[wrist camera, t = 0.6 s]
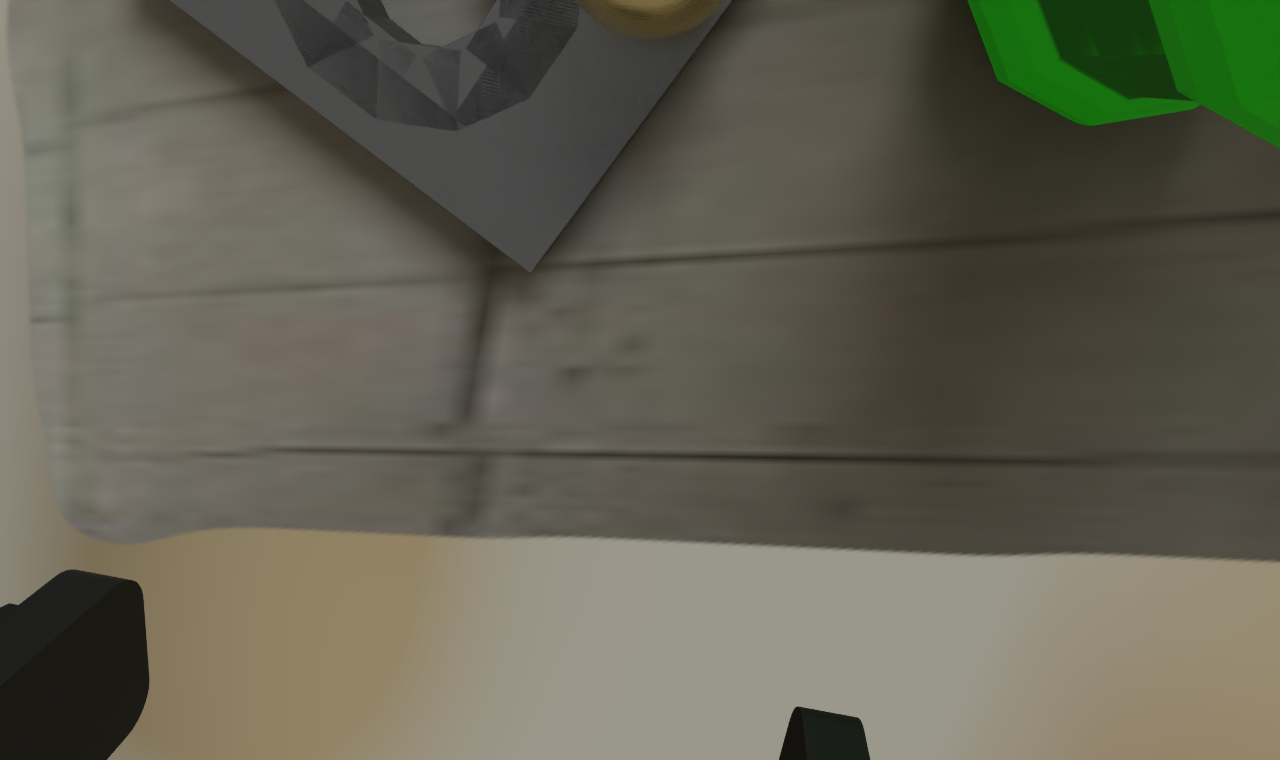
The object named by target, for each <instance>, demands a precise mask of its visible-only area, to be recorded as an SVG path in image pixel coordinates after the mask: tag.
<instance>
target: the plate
mask: <svg viewBox="0 0 1280 760" xmlns="http://www.w3.org/2000/svg"><path fill="white" fill-rule="evenodd" d="M170 1H171V2H173V3H174V4H175V5H177V6H178V7H179V8H180V9H182V10H183V11H184V12H186V13H187V14H188V15H190V16H191V17H192V18H194V19H195V20H196V21H198V22H199V23H200V24H202V25H203V26H204V27H206V28H207V29H208V30H210V31H211V32H212V33H214V34H215V35H216V36H218V37H219V38H220V39H221V40H223V41H224V42H225V43H227V44H228V45H229V46H231V47H232V48H233V49H235V50H236V51H237V52H239V53H240V54H241V55H243V56H244V57H245V58H247V59H248V60H249V61H251V62H252V63H253V64H255V65H256V66H257V67H259V68H260V69H261V70H262V71H264V72H265V73H266V74H268V75H269V76H270V77H272V78H273V79H274V80H276V81H277V82H278V83H280V84H281V85H282V86H284V87H285V88H286V89H288V90H289V91H290V92H292V93H293V94H294V95H296V96H297V97H298V98H300V99H301V100H302V101H304V102H305V103H306V104H307V105H309V106H310V107H311V108H313V109H314V110H315V111H317V112H318V113H319V114H321V115H322V116H323V117H325V118H326V119H327V120H329V121H330V122H331V123H333V124H334V125H335V126H337V127H338V128H339V129H341V130H342V131H343V132H345V133H346V134H347V135H348V136H350V137H351V138H352V139H354V140H355V141H356V142H358V143H359V144H360V145H362V146H363V147H364V148H366V149H367V150H368V151H370V152H371V153H372V154H374V155H375V156H376V157H378V158H379V159H380V160H382V161H383V162H384V163H386V164H387V165H388V166H389V167H391V168H392V169H393V170H395V171H396V172H397V173H399V174H400V175H401V176H403V177H404V178H405V179H407V180H408V181H409V182H411V183H412V184H413V185H415V186H416V187H417V188H419V189H420V190H421V191H423V192H424V193H425V194H427V195H428V196H429V197H431V198H432V199H433V200H434V201H436V202H437V203H438V204H440V205H441V206H442V207H444V208H445V209H446V210H448V211H449V212H450V213H452V214H453V215H454V216H456V217H457V218H458V219H460V220H461V221H462V222H464V223H465V224H466V225H468V226H469V227H470V228H472V229H473V230H474V231H475V232H477V233H478V234H479V235H481V236H482V237H483V238H485V239H486V240H487V241H489V242H490V243H491V244H493V245H494V246H495V247H497V248H498V249H499V250H501V251H502V252H503V253H505V254H506V255H507V256H509V257H510V258H511V259H513V260H514V261H515V262H517V263H518V264H519V265H520V266H522V267H523V268H524V269H526V270H527V271H528V272H530V273H531V272H532V270H533V269H534V268H535V267H536V266H537V265H538V264H539V262H540V261H541V260H542V259H543V258H544V256H545V255H546V253H547V252H548V251H549V249H550V248H551V247H552V245H553V244H554V243H555V241H556V240H557V239H558V237H559V236H560V235H561V233H562V232H563V231H564V229H565V228H566V226H567V225H568V224H569V222H570V221H571V220H572V218H573V217H574V216H575V214H576V213H577V212H578V210H579V209H580V208H581V206H582V205H583V203H584V202H585V201H586V199H587V198H588V197H589V195H590V194H591V193H592V191H593V190H594V189H595V187H596V186H597V185H598V183H599V182H600V180H601V179H602V178H603V176H604V175H605V174H606V172H607V171H608V170H609V168H610V167H611V166H612V164H613V163H614V162H615V160H616V159H617V158H618V156H619V155H620V153H621V152H622V151H623V149H624V148H625V147H626V145H627V144H628V143H629V141H630V140H631V139H632V137H633V136H634V135H635V133H636V132H637V130H638V129H639V128H640V126H641V125H642V124H643V122H644V121H645V120H646V118H647V117H648V116H649V114H650V113H651V112H652V110H653V109H654V108H655V106H656V105H657V103H658V102H659V101H660V99H661V98H662V97H663V95H664V94H665V93H666V91H667V90H668V89H669V87H670V86H671V85H672V83H673V82H674V80H675V79H676V78H677V76H678V75H679V74H680V72H681V71H682V70H683V68H684V67H685V66H686V64H687V63H688V62H689V60H690V59H691V57H692V56H693V55H694V53H695V52H696V51H697V49H698V48H699V47H700V45H701V44H702V43H703V41H704V40H705V39H706V37H707V36H708V35H709V33H710V32H711V30H712V29H713V28H714V26H715V25H716V24H717V22H718V21H719V20H720V18H721V17H722V16H723V14H724V13H725V12H726V10H727V9H728V7H729V6H730V5H731V3H732V2H733V1H734V0H725V1H724V2H723V3H722V4H721V5H720V7H719V8H718V9H717V10H716V11H715V12H714V13H713V14H712V15H710V16H709V17H708V18H707V19H706V20H704V21H703V22H701V23H700V24H699V25H697V26H695V27H694V28H692V29H690V30H688V31H686V32H683V33H681V34H678V35H675V36H671V37H667V38H662V39H637V38H632V37H628V36H624V35H621V34H618V33H616V32H613V31H611V30H609V29H607V28H606V27H604V26H602V25H601V24H599V23H598V22H596V21H595V20H594V19H592V18H591V17H590V16H589V15H588V14H587V13H586V12H585V11H584V10H583V9H582V8H581V7H580V6H579V5H578V3H577V2H576V1H575V0H496V2H495V3H494V5H493V7H492V8H491V10H490V11H489V13H488V14H487V16H486V18H485V19H484V21H483V22H482V24H481V25H480V27H479V28H478V30H477V31H475V32H473V33H471V34H469V35H467V36H465V37H462V38H460V39H458V40H456V41H454V42H452V43H450V44H448V45H445V46H443V47H439V46H432V45H425V44H421V43H420V42H418V41H417V40H416V39H415V38H413V37H412V36H411V35H409V34H408V33H407V32H406V31H404V30H403V29H402V28H401V27H399V26H398V25H397V24H396V23H394V22H393V21H392V20H390V19H389V17H388V15H387V13H386V11H385V8H384V6H383V4H382V2H381V0H170Z"/></svg>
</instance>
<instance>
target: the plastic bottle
mask: <svg viewBox="0 0 1280 760" xmlns="http://www.w3.org/2000/svg"><path fill="white" fill-rule="evenodd" d="M967 1H968V3H969V6H970V9H971V11H972V14H973V17H974V19H975V22H976V24H977V27H978V30H979V32H980V35H981V38H982V40H983V43H984V46H985V48H986V51H987V54H988V56H989V59H990V62H991V64H992V67H993V70H994V72H995V75H996V77H997V80H998V81H999V82H1001V83H1003V84H1005V85H1007V86H1008V87H1010V88H1012V89H1014V90H1016V91H1018V92H1019V93H1021V94H1023V95H1025V96H1027V97H1029V98H1030V99H1032V100H1034V101H1036V102H1038V103H1040V104H1042V105H1043V106H1045V107H1047V108H1049V109H1051V110H1053V111H1054V112H1056V113H1058V114H1060V115H1062V116H1064V117H1065V118H1067V119H1069V120H1071V121H1073V122H1075V123H1076V124H1082V125H1088V126H1095V125H1101V124H1107V123H1113V122H1119V121H1125V120H1131V119H1137V118H1143V117H1149V116H1156V115H1162V114H1168V113H1174V112H1180V111H1186V110H1192V109H1195V108H1196V107H1198V106H1199V105H1200V104H1201V105H1202V106H1204V107H1206V108H1208V109H1210V110H1211V111H1213V112H1215V113H1217V114H1219V115H1220V116H1222V117H1224V118H1226V119H1228V120H1229V121H1231V122H1233V123H1235V124H1237V125H1238V126H1240V127H1242V128H1244V129H1246V130H1247V131H1249V132H1251V133H1253V134H1255V135H1256V136H1258V137H1260V138H1262V139H1264V140H1265V141H1267V142H1269V143H1271V144H1273V145H1274V146H1276V147H1278V148H1280V0H967Z"/></svg>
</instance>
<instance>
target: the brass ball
mask: <svg viewBox="0 0 1280 760" xmlns="http://www.w3.org/2000/svg"><path fill="white" fill-rule="evenodd" d="M575 1H576V2H577V3H578V5H579V6H580V7H581V8H582V9H583V10H584V11H585V12H586V13H587V14H588V15H589V16H590V17H591V18H592V19H594V20H595V21H596V22H598V23H599V24H601V25H602V26H604V27H606V28H607V29H609V30H611V31H613V32H616V33H618V34H621V35H624V36H628V37H632V38H637V39H662V38H667V37H671V36H675V35H678V34H681V33H683V32H686V31H688V30H690V29H692V28H694V27H695V26H697V25H699V24H700V23H701V22H703V21H704V20H706V19H707V18H708V17H709V16H710V15H712V14H713V13H714V12H715V11H716V10H717V9H718V8H719V7H720V5H721V4H722V3H723V2H724V1H725V0H575Z"/></svg>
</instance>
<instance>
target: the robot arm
mask: <svg viewBox="0 0 1280 760" xmlns="http://www.w3.org/2000/svg"><path fill="white" fill-rule="evenodd" d="M148 689H149V667H148V655H147V640H146V627H145V614H144V600H143V593H142V590H141V587H140V586H139V584H138V583H137V582H135V581H132V580H128V579H122V578H117V577H111V576H107V575H101V574H96V573H90V572H85V571H80V570H67V571H64V572H62V573H60V574H58V575H57V576H55V577H54V578H53V579H52V580H50V581H49V582H48V583H46V584H45V585H44V586H42V587H41V588H40V589H39V590H37V591H36V592H35V593H34V594H32V595H31V596H30V597H28V598H27V599H26V600H25V601H23V602H22V603H21V604H19V605H15V604H7V605H5V606H3V607H1V608H0V760H107V759H108V758H109V756H110V755H111V754H112V753H113V752H114V751H115V750H116V748H117V747H118V746H119V745H120V744H121V743H122V742H123V740H124V739H125V738H126V737H127V736H128V734H129V733H130V732H131V730H132V729H133V727H134V726H135V724H136V722H137V721H138V719H139V717H140V715H141V713H142V710H143V708H144V705H145V702H146V699H147V695H148ZM779 760H870V757H869V752H868V747H867V742H866V737H865V732H864V728H863V725H862V722H861V720H860V719H859V718H857V717H851V716H846V715H841V714H835V713H830V712H825V711H819V710H814V709H808V708H803V707H796V708H795V709H794V711H793V713H792V715H791V718H790V721H789V725H788V728H787V732H786V736H785V739H784V743H783V747H782V750H781V754H780V757H779Z"/></svg>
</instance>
